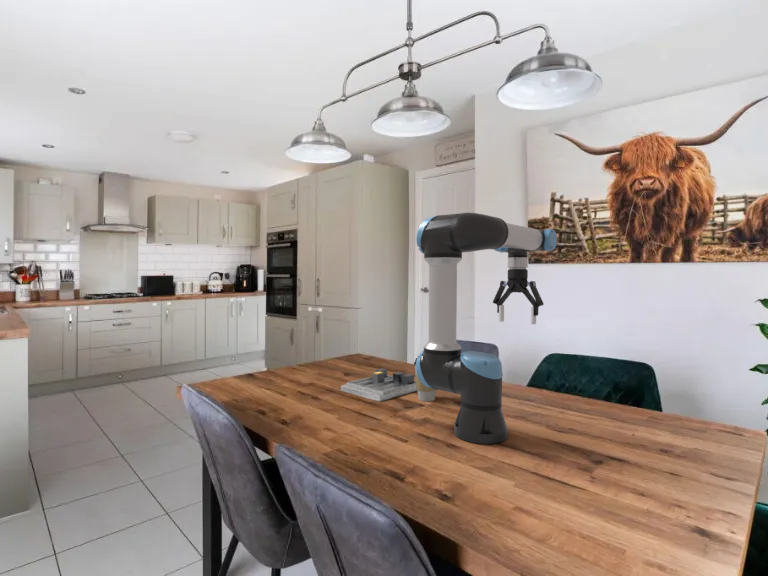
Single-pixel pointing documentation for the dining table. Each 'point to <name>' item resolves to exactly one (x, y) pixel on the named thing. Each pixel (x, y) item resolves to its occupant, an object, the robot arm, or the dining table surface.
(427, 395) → the coffee cup
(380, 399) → the panel
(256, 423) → the dining table surface
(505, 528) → the dining table surface
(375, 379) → the toggle
